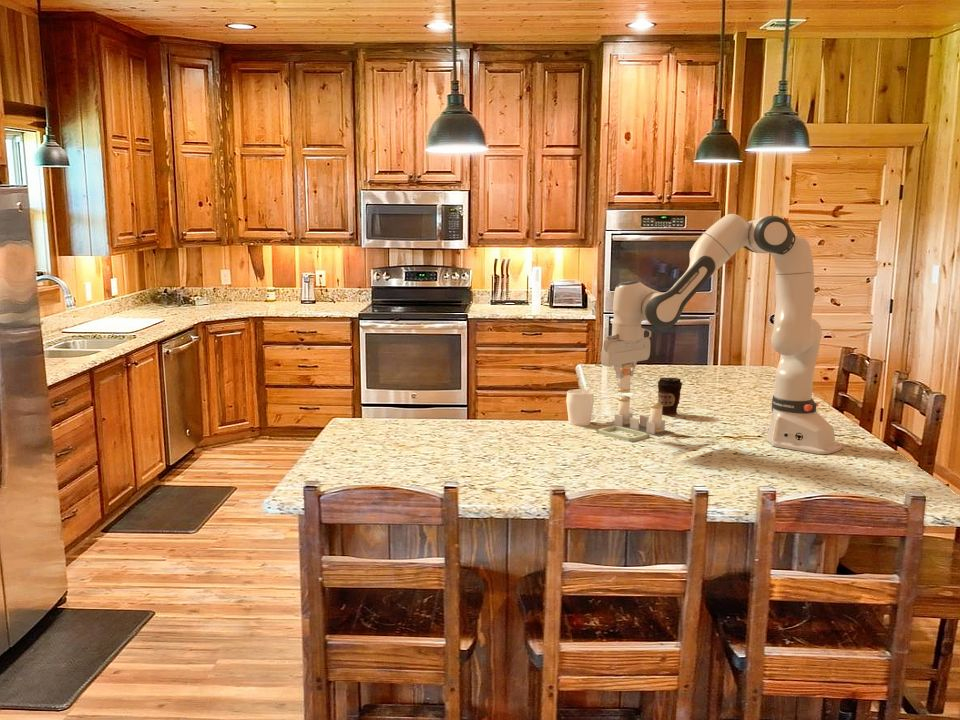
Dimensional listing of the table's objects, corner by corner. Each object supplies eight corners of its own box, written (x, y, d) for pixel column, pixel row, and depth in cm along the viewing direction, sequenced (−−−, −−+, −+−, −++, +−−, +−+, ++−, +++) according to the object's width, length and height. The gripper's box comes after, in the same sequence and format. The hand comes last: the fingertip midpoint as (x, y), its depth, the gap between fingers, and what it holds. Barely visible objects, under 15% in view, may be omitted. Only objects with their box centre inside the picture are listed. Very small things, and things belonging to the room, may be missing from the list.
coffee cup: (673, 418, 298) (675, 382, 296) (651, 415, 303) (653, 379, 301) (684, 414, 305) (686, 378, 302) (662, 410, 310) (664, 375, 307)
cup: (561, 428, 284) (562, 393, 282) (571, 422, 292) (572, 388, 290) (587, 432, 280) (588, 396, 278) (596, 425, 288) (597, 390, 286)
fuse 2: (663, 431, 275) (665, 404, 273) (656, 433, 273) (657, 406, 271) (654, 429, 278) (655, 402, 276) (647, 431, 275) (648, 404, 274)
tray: (649, 441, 269) (649, 433, 269) (631, 446, 263) (631, 438, 263) (614, 432, 280) (614, 425, 279) (596, 437, 274) (596, 429, 273)
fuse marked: (632, 391, 269) (633, 363, 267) (624, 393, 266) (626, 364, 265) (623, 389, 271) (624, 361, 270) (615, 391, 269) (616, 363, 267)
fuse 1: (631, 424, 284) (632, 397, 283) (624, 425, 282) (625, 399, 280) (622, 421, 287) (623, 395, 286) (615, 423, 285) (616, 397, 283)
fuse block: (674, 436, 275) (675, 421, 274) (659, 441, 269) (659, 425, 269) (620, 423, 291) (620, 409, 290) (604, 427, 286) (605, 413, 285)
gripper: (612, 337, 256) (611, 383, 259) (654, 331, 270) (652, 374, 272) (596, 335, 261) (595, 379, 263) (638, 329, 274) (636, 371, 277)
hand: (624, 377), depth 268 cm, fingers closed on fuse marked, 4 cm apart
